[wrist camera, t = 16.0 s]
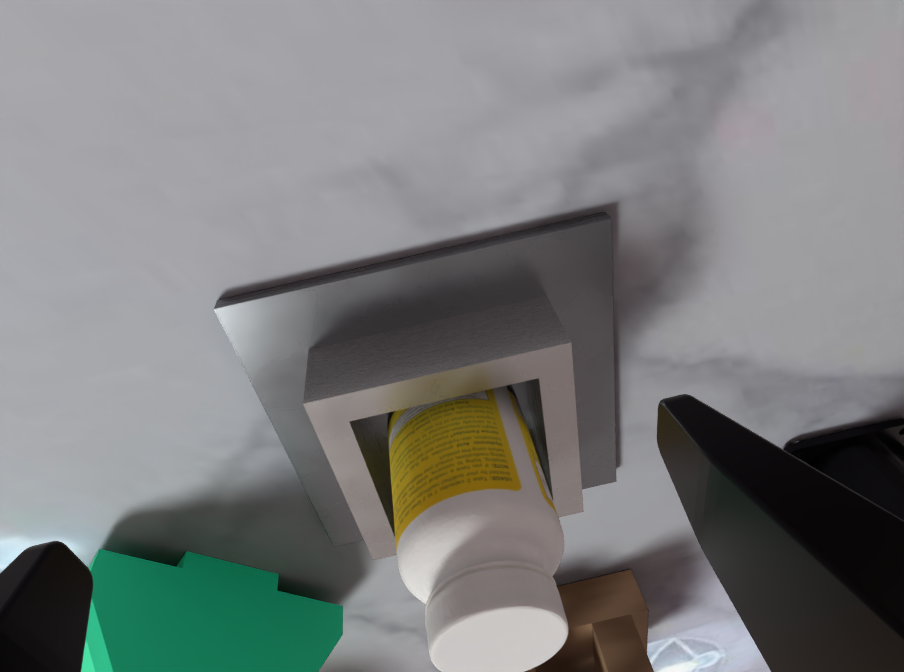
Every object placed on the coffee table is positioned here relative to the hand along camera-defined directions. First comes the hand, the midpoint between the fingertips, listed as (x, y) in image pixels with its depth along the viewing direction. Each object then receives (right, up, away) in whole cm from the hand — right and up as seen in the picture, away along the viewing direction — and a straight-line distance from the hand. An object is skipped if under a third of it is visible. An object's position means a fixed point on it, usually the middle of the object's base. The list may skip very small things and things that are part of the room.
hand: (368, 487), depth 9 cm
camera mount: (-12, -12, +22) cm, 28 cm away
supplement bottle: (+1, -1, +16) cm, 16 cm away
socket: (+1, 0, +16) cm, 16 cm away
